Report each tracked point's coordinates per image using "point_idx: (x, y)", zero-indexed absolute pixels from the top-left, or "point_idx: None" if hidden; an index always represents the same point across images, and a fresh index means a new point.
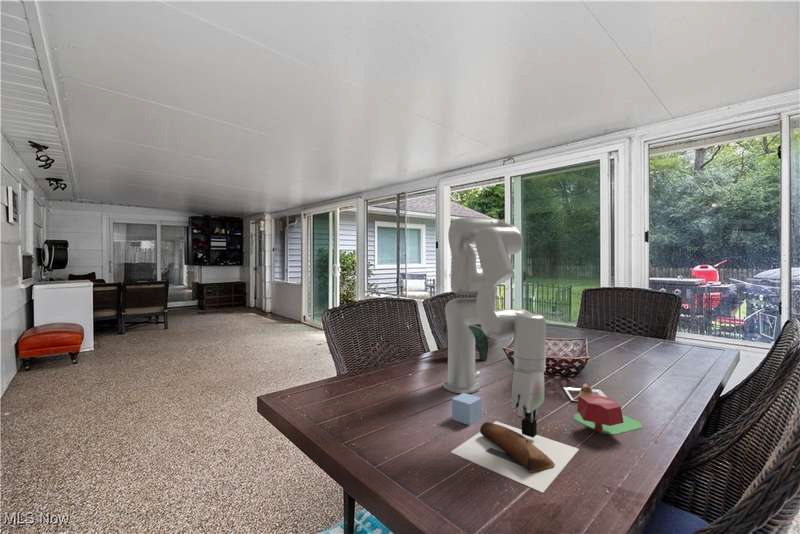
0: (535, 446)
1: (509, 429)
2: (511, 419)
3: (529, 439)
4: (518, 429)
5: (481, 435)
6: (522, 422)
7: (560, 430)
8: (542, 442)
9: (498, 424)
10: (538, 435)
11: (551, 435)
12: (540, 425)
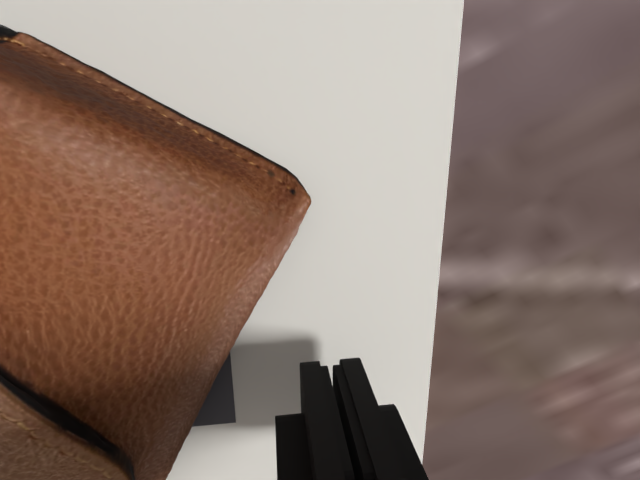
0: (241, 463)
1: (13, 433)
2: (608, 80)
3: None
4: (428, 244)
5: (6, 10)
6: (313, 451)
7: (602, 451)
8: None
9: (405, 31)
10: (427, 400)
11: (491, 448)
12: (613, 329)
